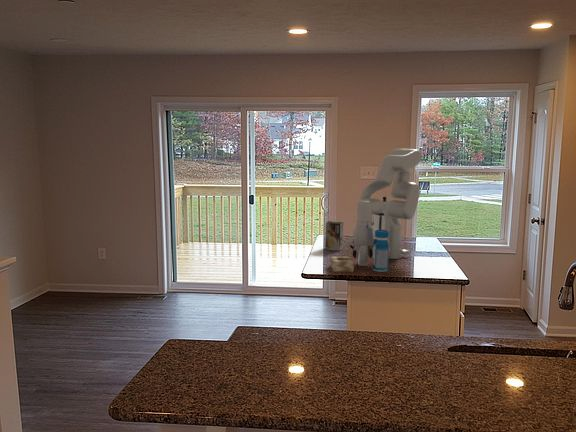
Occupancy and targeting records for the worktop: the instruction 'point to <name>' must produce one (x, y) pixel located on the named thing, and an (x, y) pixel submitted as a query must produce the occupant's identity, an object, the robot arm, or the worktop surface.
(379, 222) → the coffee press
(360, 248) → the peg
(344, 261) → the socket block
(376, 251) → the beverage bottle
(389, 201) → the robot arm
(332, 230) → the coffee box
